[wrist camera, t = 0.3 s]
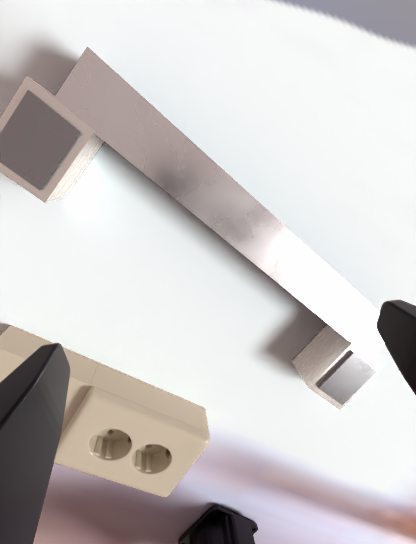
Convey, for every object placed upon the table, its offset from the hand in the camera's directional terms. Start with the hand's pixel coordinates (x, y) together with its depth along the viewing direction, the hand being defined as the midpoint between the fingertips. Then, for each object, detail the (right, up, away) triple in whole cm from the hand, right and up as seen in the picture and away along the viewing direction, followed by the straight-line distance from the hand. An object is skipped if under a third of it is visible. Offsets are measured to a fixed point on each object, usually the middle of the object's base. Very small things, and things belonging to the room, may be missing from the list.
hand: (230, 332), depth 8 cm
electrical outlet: (-10, -10, +18) cm, 23 cm away
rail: (+1, +3, +15) cm, 15 cm away
